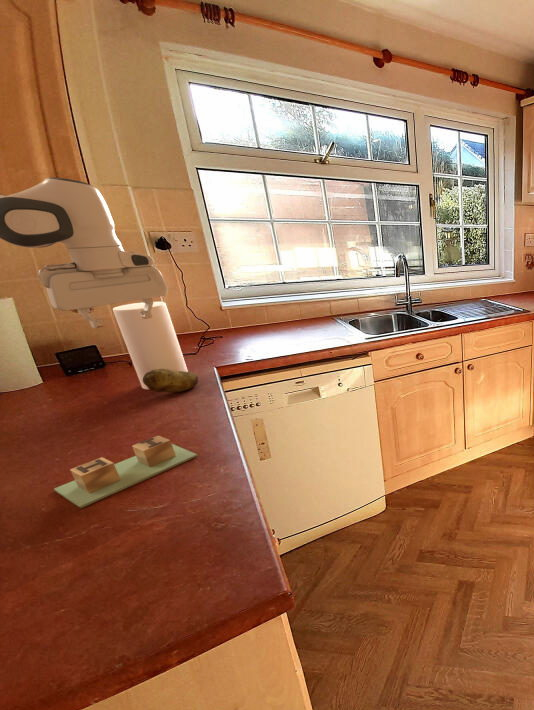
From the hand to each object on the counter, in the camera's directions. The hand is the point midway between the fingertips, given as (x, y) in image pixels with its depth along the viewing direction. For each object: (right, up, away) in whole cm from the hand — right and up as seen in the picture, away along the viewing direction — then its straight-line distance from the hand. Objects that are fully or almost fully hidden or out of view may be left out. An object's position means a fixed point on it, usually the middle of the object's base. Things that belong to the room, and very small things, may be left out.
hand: (123, 322), depth 97 cm
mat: (+10, -33, -9) cm, 35 cm away
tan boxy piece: (+12, -31, -5) cm, 33 cm away
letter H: (+8, -34, -13) cm, 37 cm away
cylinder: (-22, -14, +40) cm, 47 cm away
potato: (-13, -17, +32) cm, 38 cm away
